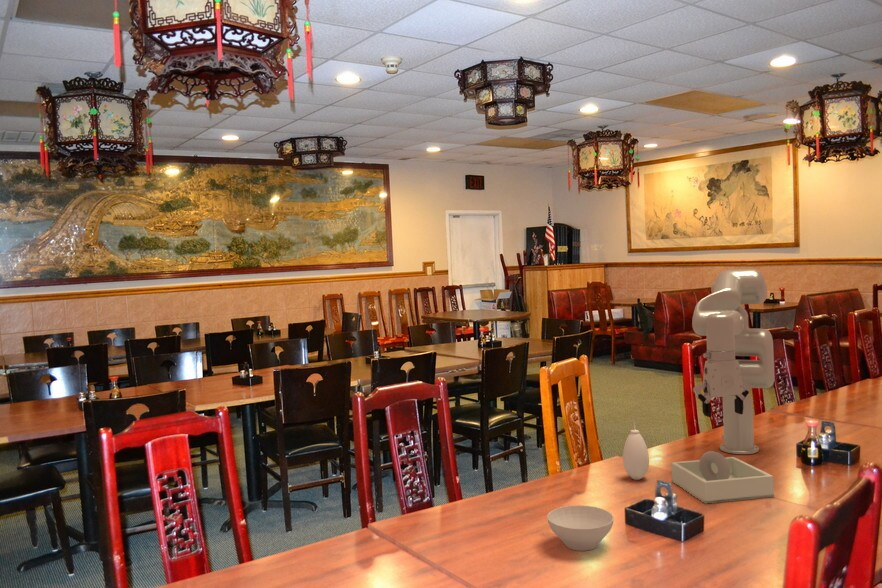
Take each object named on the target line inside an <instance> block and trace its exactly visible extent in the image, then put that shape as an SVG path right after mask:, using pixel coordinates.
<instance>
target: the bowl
mask: <svg viewBox="0 0 882 588" xmlns="http://www.w3.org/2000/svg"><path fill="white" fill-rule="evenodd" d="M546 517H547V518H546V519H547V522H548V526H549V527H550V529H551V530H552V532H553V533H554V534H555V535H556V537H558V538H559V539H560V540H561V541H562V542H563V543H564V545H565V546H566V547H567V548H568V549H570V550H573V551H578V552H579V551H580V552H585V551H586V552H587V551H591V550H595V548H597V547H598V545H599V544H600V543H601V542H602V540H603V539H605V537H607V535H608V534H609V533H610V531H611V530H612V528H613V525H614V519H615V518H614V515H613V514H612V513H611V512H610V511H608V510H606V509H603V508H601V507H597V506H591V505H579V504H578V505H576V504H575V505H567V506H566V505H565V506H561V507H557V508H555V509H552V510H551V511H550V512H548V513H547V515H546Z"/></svg>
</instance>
